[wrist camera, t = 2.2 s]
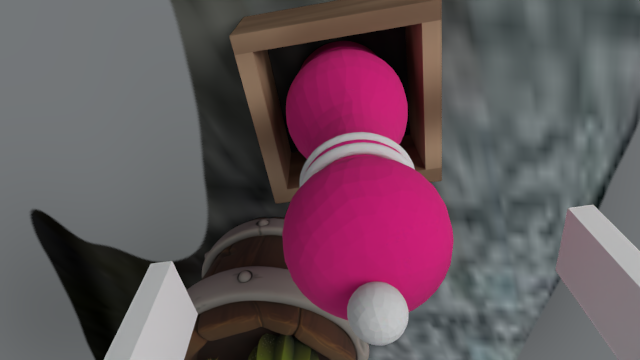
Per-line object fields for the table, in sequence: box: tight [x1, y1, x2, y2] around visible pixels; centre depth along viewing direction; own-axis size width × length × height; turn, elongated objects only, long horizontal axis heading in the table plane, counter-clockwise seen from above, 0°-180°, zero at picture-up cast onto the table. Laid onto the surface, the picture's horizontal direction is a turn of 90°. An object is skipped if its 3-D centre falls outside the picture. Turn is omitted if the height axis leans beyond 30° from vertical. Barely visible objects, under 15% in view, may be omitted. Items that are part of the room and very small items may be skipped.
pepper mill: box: [282, 41, 453, 345], centre depth 19 cm, size 7×7×20 cm
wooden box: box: [229, 0, 442, 204], centre depth 26 cm, size 11×11×5 cm
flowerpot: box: [184, 217, 369, 360], centre depth 28 cm, size 14×15×20 cm
